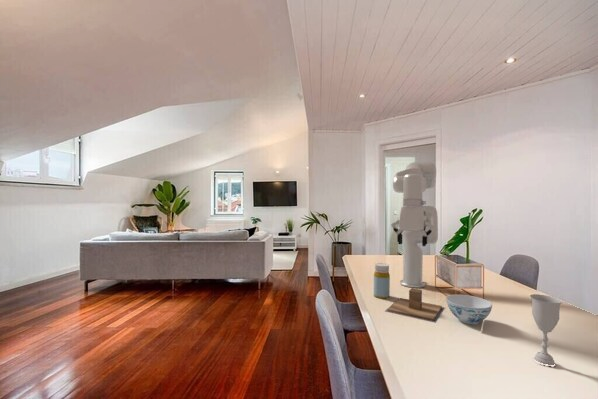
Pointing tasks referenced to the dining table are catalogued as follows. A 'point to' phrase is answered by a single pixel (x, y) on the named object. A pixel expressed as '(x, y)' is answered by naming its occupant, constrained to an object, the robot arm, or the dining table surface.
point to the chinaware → (469, 308)
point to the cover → (415, 306)
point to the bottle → (381, 281)
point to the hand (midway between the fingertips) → (411, 244)
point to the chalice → (545, 321)
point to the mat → (420, 318)
